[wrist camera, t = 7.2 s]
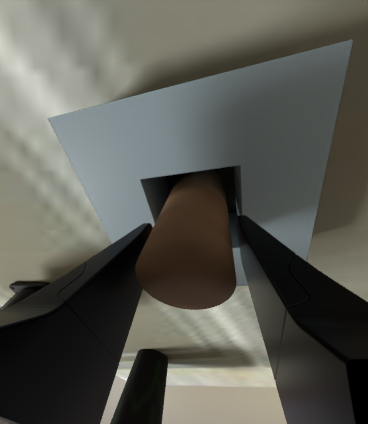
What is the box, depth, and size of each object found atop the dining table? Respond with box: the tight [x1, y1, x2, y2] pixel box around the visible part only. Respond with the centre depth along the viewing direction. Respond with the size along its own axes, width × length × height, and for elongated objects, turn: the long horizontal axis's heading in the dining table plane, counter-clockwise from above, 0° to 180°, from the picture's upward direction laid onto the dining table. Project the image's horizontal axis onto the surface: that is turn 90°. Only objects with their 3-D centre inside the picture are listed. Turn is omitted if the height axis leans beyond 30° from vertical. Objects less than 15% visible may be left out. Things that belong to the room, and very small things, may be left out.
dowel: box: [135, 169, 237, 310], centre depth 10 cm, size 4×4×8 cm
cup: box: [110, 349, 168, 424], centre depth 26 cm, size 8×8×12 cm
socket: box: [48, 39, 353, 286], centre depth 11 cm, size 12×12×4 cm
